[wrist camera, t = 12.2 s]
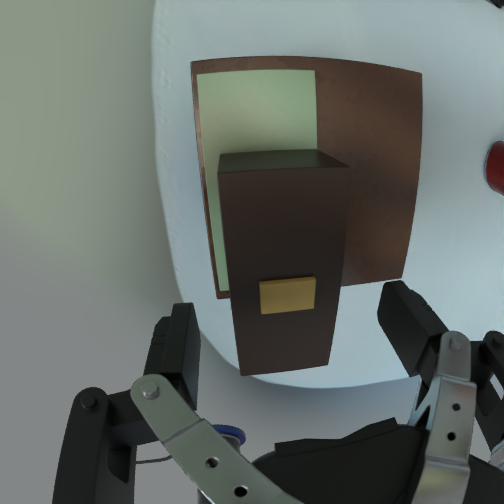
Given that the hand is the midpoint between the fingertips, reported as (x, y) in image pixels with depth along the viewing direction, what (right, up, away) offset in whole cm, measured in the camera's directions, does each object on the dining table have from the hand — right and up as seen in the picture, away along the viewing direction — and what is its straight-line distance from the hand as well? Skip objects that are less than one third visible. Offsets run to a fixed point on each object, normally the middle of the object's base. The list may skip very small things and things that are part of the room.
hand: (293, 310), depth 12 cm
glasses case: (0, +3, +5) cm, 6 cm away
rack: (+1, +12, +14) cm, 18 cm away
